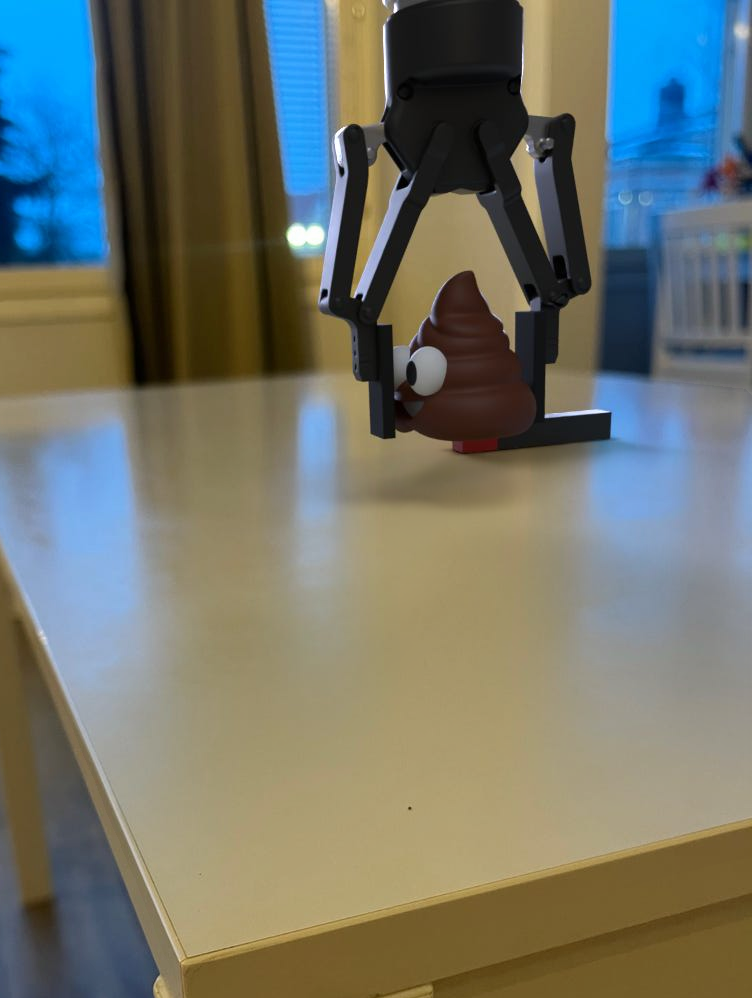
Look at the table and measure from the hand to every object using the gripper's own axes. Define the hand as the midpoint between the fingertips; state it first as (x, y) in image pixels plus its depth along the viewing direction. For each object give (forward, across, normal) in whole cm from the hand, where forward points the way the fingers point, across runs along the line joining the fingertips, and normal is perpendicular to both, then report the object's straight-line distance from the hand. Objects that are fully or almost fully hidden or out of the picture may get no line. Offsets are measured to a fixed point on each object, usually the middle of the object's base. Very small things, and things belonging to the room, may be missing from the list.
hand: (457, 427), depth 61 cm
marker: (+5, -14, -18) cm, 23 cm away
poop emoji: (0, 0, 0) cm, 0 cm away
